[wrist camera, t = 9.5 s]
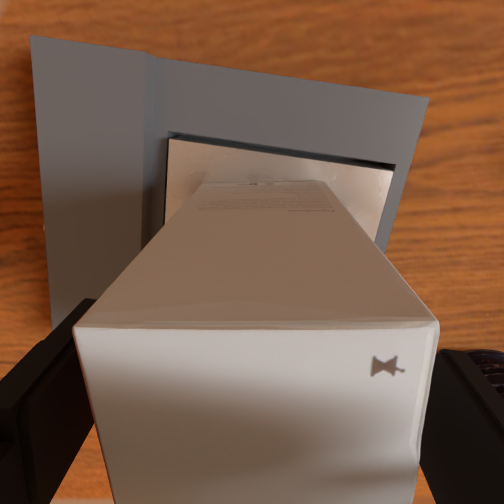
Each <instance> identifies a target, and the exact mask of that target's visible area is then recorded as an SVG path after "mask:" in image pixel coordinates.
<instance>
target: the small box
mask: <svg viewBox="0 0 504 504" xmlns="http://www.w3.org/2000/svg"><path fill="white" fill-rule="evenodd" d="M72 334H73V338H74V341H75V345H76V349H77V353H78V357H79V361H80V365H81V369H82V373H83V377H84V381H85V386H86V390H87V394H88V398H89V402H90V406H91V410H92V414H93V418H94V422H95V427H96V431H97V435H98V439H99V443H100V447H101V451H102V455H103V458H104V462H105V466H106V470H107V475H108V479H109V483H110V487H111V492H112V496H113V500H114V504H412V502H413V498H414V493H415V488H416V482H417V474H418V467H419V460H420V445H421V436H422V430H423V425H424V419H425V412H426V407H427V402H428V397H429V390H430V383H431V376H432V371H433V366H434V361H435V355H436V349H437V344H438V339H439V335H440V326H439V322H438V320H437V318H436V317H435V316H434V315H433V314H432V312H431V311H430V310H429V309H428V307H427V306H426V305H425V304H424V303H423V302H422V300H421V299H420V298H419V297H418V296H417V294H416V293H415V292H414V291H413V289H412V288H411V287H410V285H409V284H408V283H407V282H406V280H405V279H404V278H403V277H402V276H401V274H400V273H399V272H398V271H397V269H396V268H395V267H394V266H393V265H392V263H391V262H390V261H389V260H388V258H387V257H386V256H385V255H384V254H383V252H382V251H381V250H380V249H379V247H378V246H377V245H376V244H375V243H374V241H373V240H372V239H371V238H370V236H369V235H368V234H367V233H366V231H365V230H364V229H363V228H362V227H361V225H360V224H359V223H358V222H357V220H356V219H355V218H354V217H353V216H352V214H351V213H350V212H349V211H348V209H347V208H346V207H345V206H344V204H343V203H342V202H341V201H340V200H339V198H338V197H337V196H336V194H335V193H334V192H333V191H332V189H331V188H330V187H329V186H328V184H327V183H326V182H325V181H313V182H310V181H308V182H257V183H203V184H201V185H200V186H199V187H198V188H197V190H196V191H195V192H194V193H193V194H192V195H191V196H190V197H189V199H188V200H186V202H185V203H184V204H183V205H182V206H181V207H180V208H179V209H178V210H177V211H176V213H175V214H174V215H173V216H172V217H171V218H170V220H169V221H168V222H167V223H166V224H165V225H164V226H163V227H162V228H161V229H160V230H159V232H158V233H157V234H156V235H155V236H154V237H153V238H152V240H151V241H150V242H149V243H148V244H147V245H146V246H145V247H144V248H143V250H142V251H141V252H140V253H139V254H138V255H137V256H136V257H135V259H134V260H133V261H132V262H131V263H130V264H129V265H128V266H127V267H126V268H125V270H124V271H123V272H122V273H121V274H120V275H119V276H118V278H117V279H116V280H115V281H114V282H113V283H112V284H111V285H110V286H109V287H108V288H107V289H106V291H105V292H104V293H103V294H102V295H101V296H100V298H99V299H98V300H97V301H96V302H95V303H94V304H93V305H92V306H91V307H90V308H89V310H88V311H87V312H86V313H85V314H84V315H83V316H82V317H81V318H80V319H79V320H78V322H77V323H76V324H75V325H74V326H73V327H72Z"/></svg>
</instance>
